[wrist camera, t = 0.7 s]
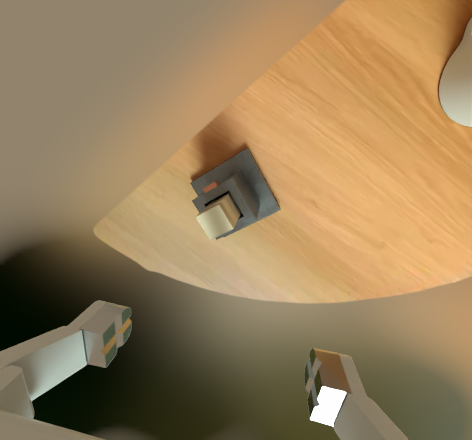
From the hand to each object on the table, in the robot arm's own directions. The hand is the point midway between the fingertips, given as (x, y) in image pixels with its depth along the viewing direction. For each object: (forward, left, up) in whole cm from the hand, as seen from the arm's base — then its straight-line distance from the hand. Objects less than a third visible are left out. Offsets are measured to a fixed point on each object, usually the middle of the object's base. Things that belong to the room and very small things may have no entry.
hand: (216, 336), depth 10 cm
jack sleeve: (+6, -1, -39) cm, 39 cm away
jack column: (+6, -1, -37) cm, 38 cm away
